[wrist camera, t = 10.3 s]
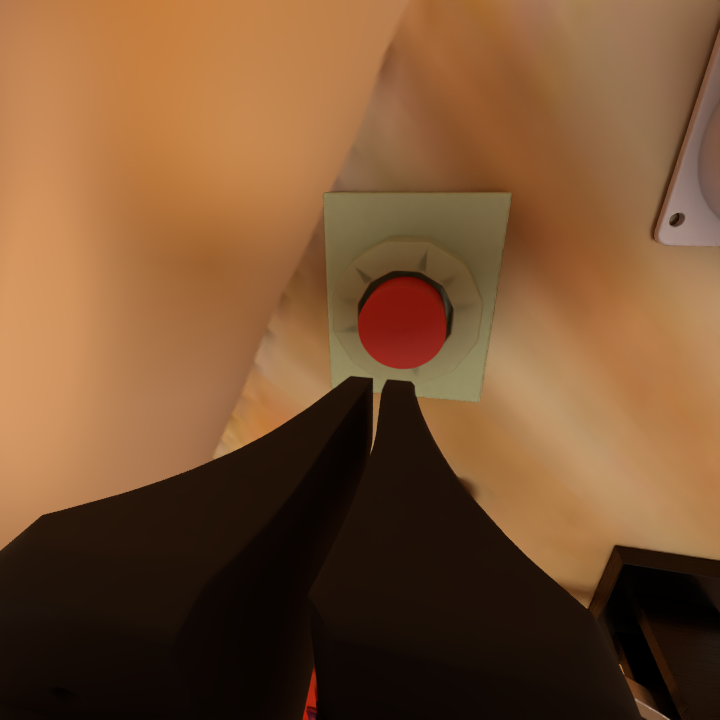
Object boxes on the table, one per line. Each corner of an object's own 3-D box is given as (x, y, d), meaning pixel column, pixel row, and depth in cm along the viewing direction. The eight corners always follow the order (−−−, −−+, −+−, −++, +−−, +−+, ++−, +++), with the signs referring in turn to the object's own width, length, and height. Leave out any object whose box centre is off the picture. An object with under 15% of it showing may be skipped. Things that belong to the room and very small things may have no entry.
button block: (329, 191, 18) (309, 193, 15) (508, 191, 16) (521, 194, 14) (336, 378, 22) (321, 406, 19) (477, 391, 21) (483, 423, 18)
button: (365, 274, 16) (357, 284, 15) (450, 277, 16) (450, 288, 14) (365, 349, 18) (357, 366, 16) (442, 355, 17) (442, 373, 16)
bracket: (575, 638, 28) (628, 819, 20) (615, 545, 23) (702, 730, 15) (683, 659, 26) (784, 860, 19) (746, 565, 22) (913, 776, 14)
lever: (507, 612, 26) (492, 655, 24) (515, 582, 25) (500, 625, 22) (739, 748, 20) (751, 825, 17) (768, 718, 18) (785, 798, 16)
